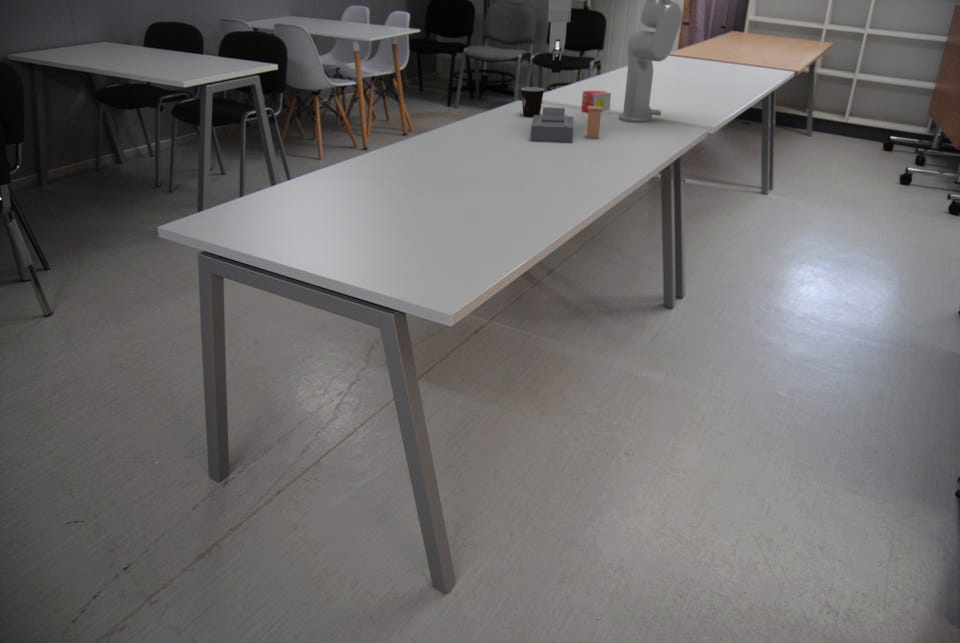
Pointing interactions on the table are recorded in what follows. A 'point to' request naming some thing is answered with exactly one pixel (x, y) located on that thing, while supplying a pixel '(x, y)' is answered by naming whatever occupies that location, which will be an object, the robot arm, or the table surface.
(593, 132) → the plug
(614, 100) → the table surface
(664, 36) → the robot arm
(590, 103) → the puzzle cube
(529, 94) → the dark brown cup
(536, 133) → the socket box
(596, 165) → the table surface
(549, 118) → the shutter
